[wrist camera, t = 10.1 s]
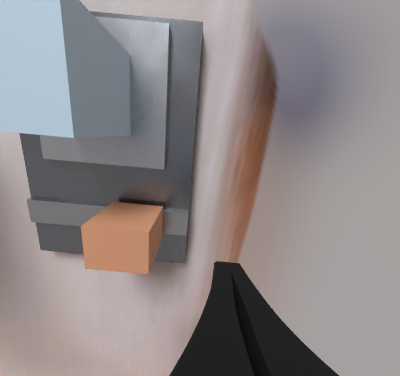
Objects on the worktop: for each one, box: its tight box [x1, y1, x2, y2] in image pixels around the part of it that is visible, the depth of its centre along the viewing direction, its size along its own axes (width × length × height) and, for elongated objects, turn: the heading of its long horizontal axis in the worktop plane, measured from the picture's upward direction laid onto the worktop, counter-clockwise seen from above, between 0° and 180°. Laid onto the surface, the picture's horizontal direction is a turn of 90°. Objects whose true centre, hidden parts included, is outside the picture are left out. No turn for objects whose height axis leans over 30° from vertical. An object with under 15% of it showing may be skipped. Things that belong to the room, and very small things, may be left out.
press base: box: [20, 11, 203, 263], centre depth 14 cm, size 18×13×2 cm
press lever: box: [81, 202, 163, 274], centre depth 13 cm, size 3×4×4 cm
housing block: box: [0, 0, 131, 138], centre depth 10 cm, size 5×4×6 cm
